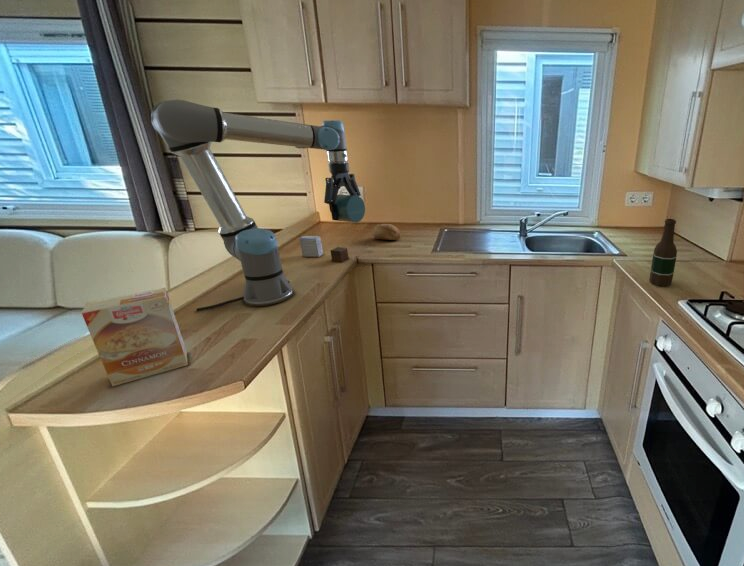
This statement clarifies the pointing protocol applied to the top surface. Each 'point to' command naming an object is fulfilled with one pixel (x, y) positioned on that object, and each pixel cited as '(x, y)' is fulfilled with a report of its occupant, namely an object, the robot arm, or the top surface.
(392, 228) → the bread roll
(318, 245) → the medicine box
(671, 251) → the beer bottle
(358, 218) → the teal blue cylinder
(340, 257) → the block
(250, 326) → the top surface
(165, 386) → the top surface
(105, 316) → the coffeecake box
